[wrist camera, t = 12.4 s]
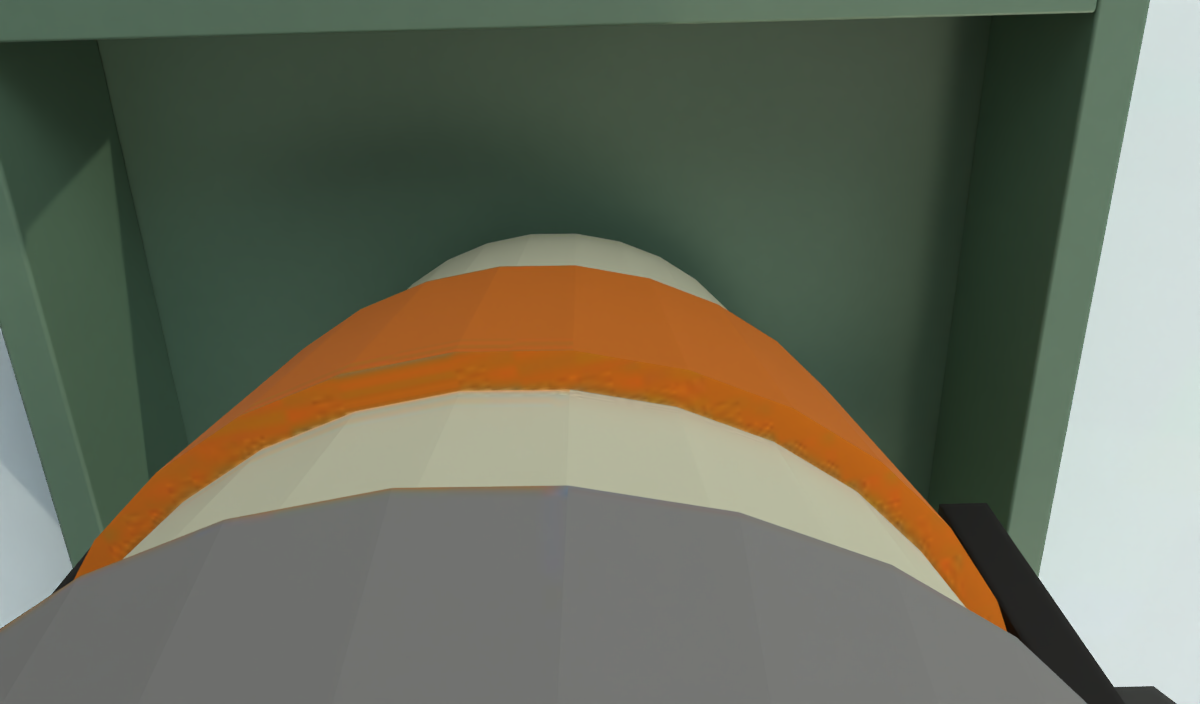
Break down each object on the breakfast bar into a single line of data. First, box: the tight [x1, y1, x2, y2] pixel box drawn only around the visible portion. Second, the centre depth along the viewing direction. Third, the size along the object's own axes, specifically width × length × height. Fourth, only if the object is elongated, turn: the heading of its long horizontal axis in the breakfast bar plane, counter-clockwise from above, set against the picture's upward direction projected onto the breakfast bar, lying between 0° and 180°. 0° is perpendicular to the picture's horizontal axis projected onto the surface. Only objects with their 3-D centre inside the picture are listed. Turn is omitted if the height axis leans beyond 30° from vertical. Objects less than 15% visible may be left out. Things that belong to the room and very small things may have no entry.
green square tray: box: [0, 0, 1150, 577], centre depth 20 cm, size 19×19×5 cm
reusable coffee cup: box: [0, 234, 1087, 704], centre depth 14 cm, size 13×12×15 cm
